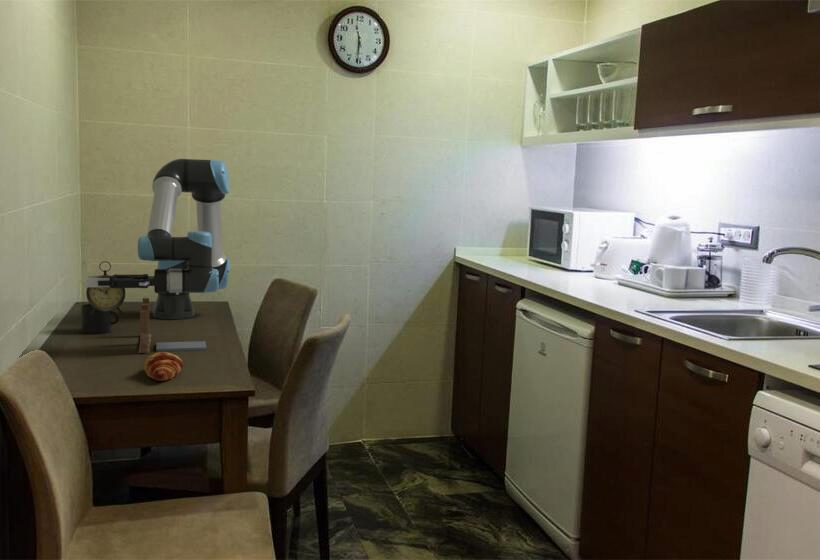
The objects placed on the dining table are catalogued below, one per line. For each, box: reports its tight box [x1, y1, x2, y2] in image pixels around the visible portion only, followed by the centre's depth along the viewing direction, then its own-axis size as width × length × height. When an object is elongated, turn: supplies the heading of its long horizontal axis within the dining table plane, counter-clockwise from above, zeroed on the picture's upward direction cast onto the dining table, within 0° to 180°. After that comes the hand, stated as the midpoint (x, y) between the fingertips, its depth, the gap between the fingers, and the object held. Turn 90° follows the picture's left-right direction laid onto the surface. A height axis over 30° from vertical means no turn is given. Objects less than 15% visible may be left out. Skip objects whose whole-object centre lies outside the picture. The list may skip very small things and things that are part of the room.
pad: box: [155, 340, 208, 352], centre depth 239 cm, size 9×15×1 cm, turn 108°
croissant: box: [143, 351, 184, 382], centre depth 207 cm, size 21×10×8 cm, turn 17°
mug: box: [80, 303, 120, 335], centre depth 257 cm, size 9×12×9 cm
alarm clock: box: [85, 260, 126, 315], centre depth 230 cm, size 11×5×16 cm, turn 114°
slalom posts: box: [138, 297, 152, 354], centre depth 241 cm, size 26×3×13 cm, turn 18°
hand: (87, 281), depth 229 cm, fingers closed on alarm clock, 5 cm apart
